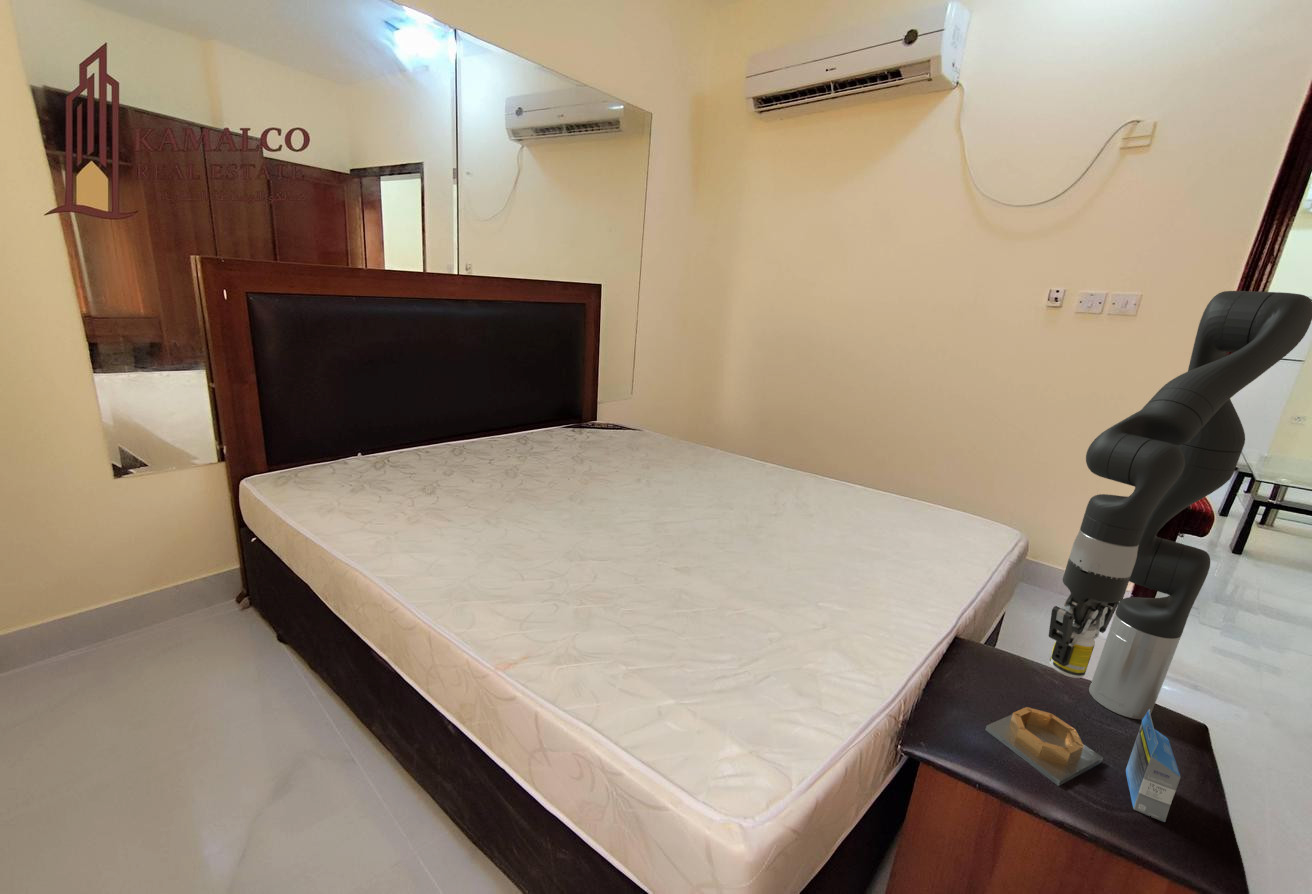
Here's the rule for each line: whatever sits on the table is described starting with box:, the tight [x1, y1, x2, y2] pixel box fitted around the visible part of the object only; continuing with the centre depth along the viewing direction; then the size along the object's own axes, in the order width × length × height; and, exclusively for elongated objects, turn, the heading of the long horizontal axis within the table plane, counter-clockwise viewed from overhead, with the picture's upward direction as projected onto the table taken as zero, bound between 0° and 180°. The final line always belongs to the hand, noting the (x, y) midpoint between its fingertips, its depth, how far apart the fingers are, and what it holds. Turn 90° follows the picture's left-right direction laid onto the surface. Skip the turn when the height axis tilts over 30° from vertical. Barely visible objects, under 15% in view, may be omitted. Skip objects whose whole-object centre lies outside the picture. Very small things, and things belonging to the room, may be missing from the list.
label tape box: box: [1125, 709, 1181, 823], centre depth 83 cm, size 9×4×12 cm, turn 146°
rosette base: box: [985, 706, 1104, 787], centre depth 92 cm, size 12×12×4 cm
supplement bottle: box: [1048, 622, 1096, 679], centre depth 87 cm, size 5×5×8 cm
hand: (1069, 658), depth 88 cm, fingers closed on supplement bottle, 4 cm apart
